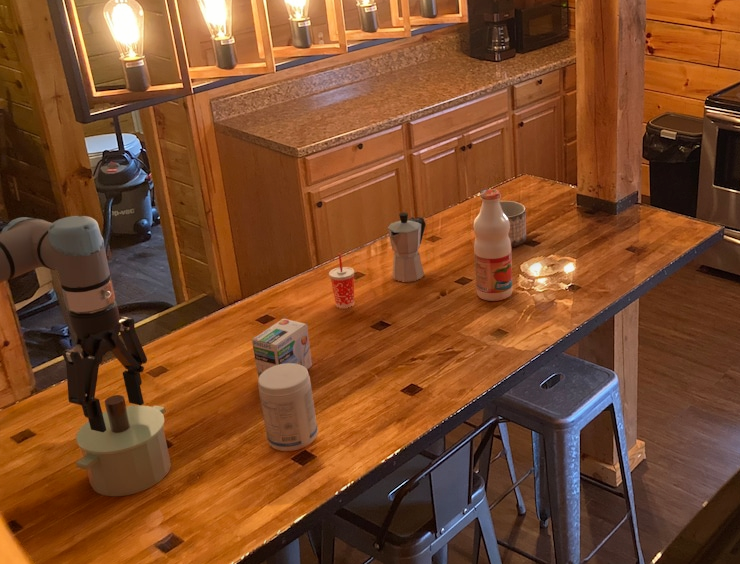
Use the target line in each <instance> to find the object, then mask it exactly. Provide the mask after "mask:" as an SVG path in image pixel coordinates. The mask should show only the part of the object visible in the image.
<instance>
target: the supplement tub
mask: <svg viewBox="0 0 740 564" xmlns="http://www.w3.org/2000/svg"><path fill="white" fill-rule="evenodd" d="M308 370H309V369H306V368H305V367H304V366H302V365H299V364H294V363H286V364H280V365H276V366H273V367H271V368H269V369H267V370H265V371H264V372H263V373H262V374H261V375H260V376H259V378H258V377H257V383H258V387H257V388H258V393H259V400H260V405H261V410H262V417H263V422H264V426H265V434H266V437H267V438H266V439H267V443H268V444H269V446H270V447H271V448H273V449H274V450H277V451H281V452H294V451H298V450H302V449H305V447H308V446H310V445H311V444H312V443H313V442H314V441H315V440H316V438H317V436H318V433H319V428H318V421H317V416H316V408H315V401H314V396H313V389H312V388H313V387H312V382H311V376H310V374H309V371H308Z"/></svg>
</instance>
